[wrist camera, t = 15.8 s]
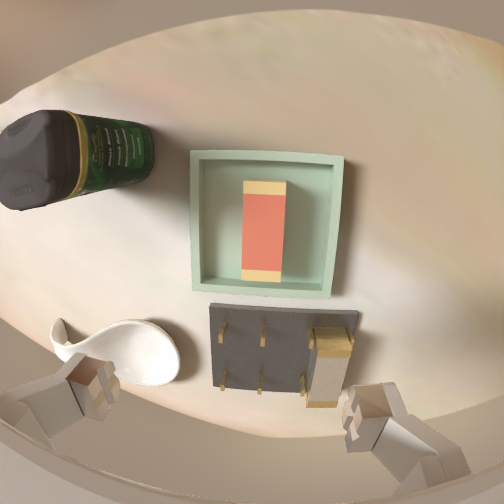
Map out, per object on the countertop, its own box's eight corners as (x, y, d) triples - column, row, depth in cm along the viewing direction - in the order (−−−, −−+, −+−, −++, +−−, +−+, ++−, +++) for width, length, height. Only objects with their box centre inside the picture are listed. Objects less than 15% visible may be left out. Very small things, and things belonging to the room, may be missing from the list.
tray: (338, 156, 31) (344, 156, 29) (326, 288, 36) (329, 299, 34) (197, 150, 33) (189, 150, 30) (198, 280, 38) (192, 290, 35)
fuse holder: (356, 310, 37) (367, 335, 31) (337, 388, 41) (343, 416, 36) (210, 302, 38) (199, 327, 33) (214, 382, 43) (206, 409, 37)
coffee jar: (154, 116, 32) (51, 93, 14) (159, 180, 34) (58, 207, 16) (90, 132, 33) (-20, 132, 15) (95, 190, 35) (-12, 221, 17)
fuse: (285, 179, 32) (286, 182, 27) (280, 265, 35) (280, 282, 30) (248, 177, 32) (243, 180, 28) (246, 263, 35) (241, 280, 31)
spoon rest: (180, 310, 40) (162, 339, 33) (191, 375, 43) (178, 407, 36) (54, 299, 42) (28, 318, 35) (72, 356, 45) (52, 378, 38)
